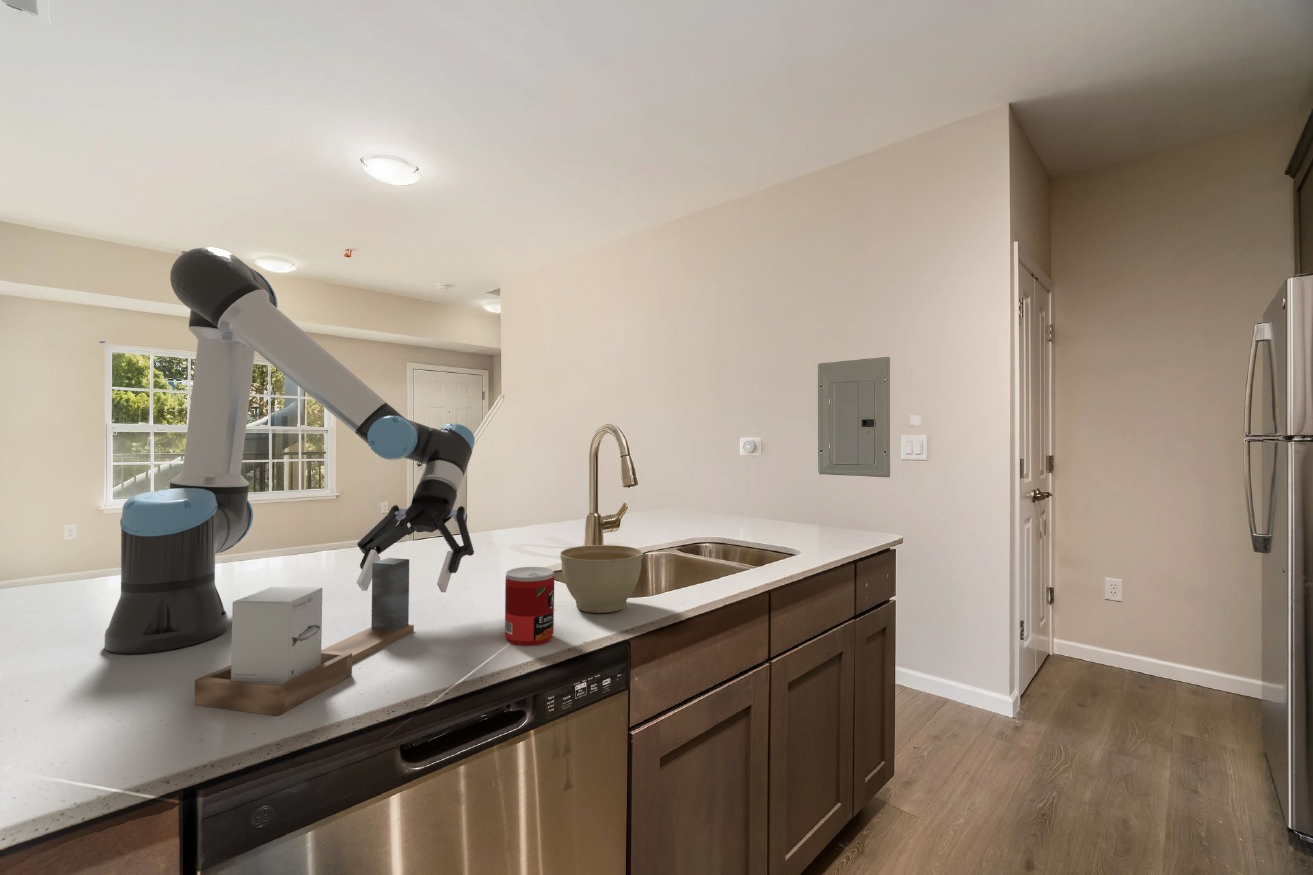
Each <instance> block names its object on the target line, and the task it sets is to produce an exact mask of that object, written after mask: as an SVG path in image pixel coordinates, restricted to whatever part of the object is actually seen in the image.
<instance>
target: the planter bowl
mask: <svg viewBox="0 0 1313 875" xmlns="http://www.w3.org/2000/svg"><path fill="white" fill-rule="evenodd" d="M559 555H560V556H559V557H560V561H561V571H562V577H563V580H564V583H565V585H566V588H567V590H568V592H569V593H570V596H571V597H572V598H573V599H574V601H575V604H576V608H577V609H578V610H580V611H582V612H586V613H591V614H592V613H597V614H599V613H600V614H603V613H604V614H605V613H613V612H617V611H620V610H623V609H624V608H625V607H626V605H627V600H628V599H629V598H630V596H631V595H632V594H633V592H634V590H635V588H636V586H637V583H638V582H639V579H640V575H641V570H642V560H643V557H644V552H643V550H641V549H640V548H637V547H631V546H626V545H613V544H612V545H611V544H608V545H607V544H605V545H604V544H599V545H597V544H594V545H581V546H579V545H578V546H574V547H568V548H565V549H563V550H561V551H560V554H559Z"/></svg>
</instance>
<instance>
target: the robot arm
mask: <svg viewBox="0 0 1313 875" xmlns="http://www.w3.org/2000/svg"><path fill="white" fill-rule="evenodd" d="M169 275H170V277H169V280H170V286H171V289H172V291H173V293H174V294H175V296H176V297H177V299H178V300H179V301H180V302H181V303H182V304H183V305H184V306H186V307H187V308H189V309H190V312H189V320H188V330H189V332H190V333H192V335H194V336H195V337H196V339H197V344H196V345H197V347H196V355H195V356H196V357H195V361H194V362H195V364H194V372H193V382H192V388H191V398H190V405H189V406H190V407H189V413H188V422H187V429H186V438H185V439H186V440H185V446H184V448H185V449H184V456H183V465H182V470H181V472H180V473H179V474H177V475H176V476H174V477H173V478H172V479H170V481H169V488H166V489H159V490H156V491H155V490H154V491H153V490H152V491H147V492H142V493H139V494H136V495H133V496H131V497H129V498H128V499H127V500H126V501H125V502H124V504H123V505H122V511H121V518H120V520H119V526H120V534H121V535H120V542H121V543H120V597H119V599H118V601H117V604H116V606H115V609H114V611H113V614H112V617H111V619H110V622H109V625H108V627H107V628H106V629H105V632H104V649H105V650H106V651H108V652H110V653H114V654H127V655H129V654H133V655H135V654H146V653H157V652H164V651H168V650H175V649H179V648H185V647H188V646H193V645H196V644H200V643H204V642H205V641H208V640H209V641H210V640H212V639H215V638H216V637H218V636H220V635H222V634H224V633H225V632H226V631H227V630H228V613H227V611H226V610H225V608H224V604H223V601H222V599H221V596H220V593H219V591H218V589H217V586H216V582H215V581H216V555H217V554H220V553H223V552H226V551H228V550H229V549H231V548H233V547H234V546H236V545H237V544H239V543H240V542H241V540H242V539H244V538H245V536H246V535H247V534H248V532H249V531H250V529H251V527H252V524H253V521H254V510H253V507H252V504H251V503H250V501H249V500H248V497H249V491H250V490H249V488H250V482H248V480H247V479H246V478H245V477H244V476H242V466H243V456H244V448H245V447H244V446H245V439H246V432H247V425H248V424H247V423H248V422H247V421H248V413H249V405H250V396H251V388H252V380H253V371H254V362H255V355H256V353H258V354H259V355H260V356H261V357H262V358H264V359H265V360H266V361H267V362H268V363H270V364H271V365H272V366H274V368H275V369H277V370H279V372H281V373H282V374H283V375H285V377H286V378H288V379H289V380H290V381H291V382H293V383H294V384H295V385H296V386H298V387H299V388H300V389H301V390H302V391H304V392H305V393H306V394H308V396H310V398H312V399H314V400H315V401H316V402H317V403H318V404H319V405H320V406H322V407H324V409H326V410H327V411H328V412H329V413H330V414H331V415H333V417H335V418H336V419H338V420H339V421H340V422H341V423H343V425H345V426H346V427H347V428H349V429H350V430H351V431H352V432H354V433H355V434H356V435H357V436H358V437H359V438H360V439H361V440H362V441H363V442H365V443H366V444H367V445H368V447H370V450H371V451H372V452H374V454H376V455H377V456H379V457H380V458H381V459H384V460H389V461H390V460H393V461H394V460H401V459H406V460H411V461H413V462H417V463H419V464H423V465H425V467H424V469H423V472H422V474H421V476H420V477H419V478H420V479H419V481H418V485H417V486H416V489H415V492H414V494H413V496H412V499H411V504H410V505H409V506H408V508H406V509H405V508H400V507H399V505H397V504H395V505H393V506H391V508H390V509H389V511H388V514H387V515H385V517H383V518H382V520H380V521H379V522H378V523H377V524H376V525H375V526H374V527H373V528H372V529H371V530H370V531H368V532H367V533H366V534H365V535H364V536H363V537H362V538H361V539H360V540H359V541H358V542H357V543H356V545H357V547H358V548H359V550H360V552H362V554H363V557H362V559H361V562H360V564H359V568H360V569H361V572H360V574H359V576H358V579H357V580H356V585H358V587H359V588H360V589H361V591H362V592H367V591H368V589H369V587H370V585H371V583H372V563H373V562H377V561H380V560H381V556H380V554H381V553H383V552H385V551H386V550H387V549H389V548H390V547H391V546H393V545H394V544H395V543H397V542H399V541H400V540H401V539H403V538H404V537H406V536H411V535H412V534H413V533H415V532H416V533H424V532H426V533H434V532H436V531H438V532H439V533H440V536H442V537H443V539H444V540H445V542H446V544H447V545H448V547H449V548H450V550H447V552H446V555H445V558H444V561H443V564H442V567H441V570H440V573H439V577H438V580H437V582H436V586H437V587H438V588H439V591H440V592H441V593H447V589H448V587H449V583H450V580H451V577H452V574H457V572H458V571H459V567H460V564H461V561H462V558H464V557H465V556H469V557H471V556H473V555H474V554H475V550H474V547H473V543H472V539H471V537H470V533H469V529H468V524H467V521H468V520H467V519H468V514H467V512H466V510H465V507H464V506H463V505H461V506H459V507H458V508H457V509H454V507H455V504H456V500H457V498H458V494H459V491H460V487H461V486H462V482H463V479H464V476H465V474H466V471H467V468H468V465H469V463H470V460H471V457H472V454H473V450H474V446H475V443H476V442H475V441H476V440H475V434H474V433H473V432H472V430H471V429H470V428H468V427H467V426H465V425H463V424H460V423H447V424H445V425H443V426H442V427H441V429H437V428H434V427H431V426H427V425H424V424H422V423H420V422H416V421H413V420H410V419H407V418H406V417H404V416H403V415H402V414H401V413H400V412H398V411H397V409H395V408H394V407H393V406H391V405H390V404H388V402H387V401H386V400H384V399H383V398H382V397H381V396H380V395H378V394H377V393H376V392H375V391H374V390H373V389H371V388H370V387H369V386H368V385H367V384H365V382H363V381H362V380H361V379H360V378H358V377H357V376H356V375H355V374H354V373H353V372H352V371H350V369H348V368H347V367H346V366H344V364H342V363H341V362H340V361H339V360H338V359H337V358H335V357H334V355H332V354H331V353H330V352H328V351H327V350H326V349H325V347H323V346H322V345H320V344H319V343H318V342H317V341H316V340H315V339H313V338H312V337H311V336H310V335H309V334H307V333H306V332H305V331H304V330H303V329H302V328H300V326H298V325H297V324H296V323H295V322H293V321H292V320H291V319H290V318H289V317H288V316H287V315H285V314H284V312H282V311H281V310H279V308H278V299H277V296H276V293H275V291H274V289H273V287H272V286H271V284H270V282H269V281H268V280H267V279H266V278H265V277H264V276H263V275H262V274H261V273H260V272H258V271H257V270H255V269H253V268H251V267H249V265H247V263H244V261H243V260H241V259H240V258H239V257H237V256H236V255H235V254H233V253H231V252H228V251H226V250H223V249H220V248H215V247H205V246H204V247H203V246H202V247H198V248H193V249H190V250H188V251H185V252H183V253H182V254H181V255H179V256H178V257H177V258H176V260H175V261H174V262H173V264H172V266H171V269H170V274H169ZM452 518H453V520H454V521H455V522H457V526H458V530H459V533H460V537H461V539H462V540H461V541H462V543H463V545H460V544H459V543H458V542H457V541H456V539H455V538H454V536H453V534H452V533H451V532H450V530H449V529H448V526H446V524H447V522H449V521H450V520H451V519H452ZM408 524H409V525H410V526H408Z"/></svg>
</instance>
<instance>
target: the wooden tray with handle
mask: <svg viewBox="0 0 1313 875" xmlns="http://www.w3.org/2000/svg"><path fill="white" fill-rule="evenodd" d="M409 604H410V559H409V558H394V557H387V558H384V559H380V561H377V562H373V563H372V580H371V627H368V628H367V629H364V630H363V631H360V632H357V633H356V634H353V635H351V636H349V637H347V638H345V639H342V640H340V641H338V642H336V643H334V644H332V645H329V646H328V647H325V648H323V649H321V665H319V666H317V667H315V668H313V669H311V670H309V671H307V672H305V673H303V674H301V675H299V676H297V677H295V678H293V679H291V680H289V681H287V682H285V683H283V684H281V685H279V686H276V685H268V684H259V683H251V682H243V681H235V680H231V664H230V665H228V666H225V667H223V668H220V669H217V670H216V671H212V672H210V673H207V674H205V675H203V676H200V677H198V678H196V679H194V705H195V706H201V707H209V708H210V707H211V708H216V709H225V710H230V711H232V710H233V711H240V712H246V713H247V712H248V713H254V714H262V715H267V716H276V717H278V716H280V715H282V714H283V713H285V712H287V711H289V710H291V709H293V708H294V707H296V706H298V705H300V704H302V703H304V702H306V701H308V700H309V699H311V698H312V697H315V696H317V695H318V694H320V693H321V692H324V691H326V690H327V689H329V688H331V687H333V686H335V685H336V684H338V683H340V682H342V681H344V680H345V679H348V678H349V677H352V676H353V663H354V662H357V661H359V660H361V659H362V658H364V657H366V656H368V655H370V654H372V653H374V652H376V651H378V650H379V649H381V648H383V647H385V646H387V645H390V644H391V643H393V642H395V641H397V640H399V639H401V638H402V637H405V636H407V635H409V634H410V633H412V632H414V629H415V625H414V624H409V621H410V620H409V618H410V617H409V616H410V615H409V612H410V610H409V609H410V608H409V607H410V605H409Z"/></svg>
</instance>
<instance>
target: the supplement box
mask: <svg viewBox="0 0 1313 875" xmlns="http://www.w3.org/2000/svg"><path fill="white" fill-rule="evenodd" d="M231 612H232V614H231V617H232V618H231V654H230V656H231V661H230V665H231V680H235V681H243V682H251V683H259V684H268V685H276V686H279V685H281V684H283V683H285V682H287V681H289V680H291V679H293V678H295V677H297V676H299V675H301V674H303V673H305V672H307V671H309V670H311V669H313V668H315V667H317V666H319V665H321V650H322V639H323V638H322V635H323V634H322V633H323V632H322V631H323V628H322V627H323V626H322V625H323V587H320V586H319V587H316V586H315V587H314V586H312V587H309V586H307V587H306V586H271V587H268V588H265V589H263V590H261V591H258V592H255V593H253V594H249V595H247V596H245V597H241V598H239V599H237V600H233V601H232V611H231Z"/></svg>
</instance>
